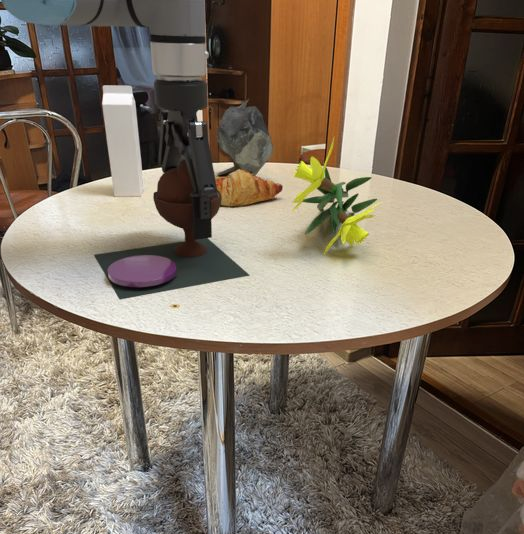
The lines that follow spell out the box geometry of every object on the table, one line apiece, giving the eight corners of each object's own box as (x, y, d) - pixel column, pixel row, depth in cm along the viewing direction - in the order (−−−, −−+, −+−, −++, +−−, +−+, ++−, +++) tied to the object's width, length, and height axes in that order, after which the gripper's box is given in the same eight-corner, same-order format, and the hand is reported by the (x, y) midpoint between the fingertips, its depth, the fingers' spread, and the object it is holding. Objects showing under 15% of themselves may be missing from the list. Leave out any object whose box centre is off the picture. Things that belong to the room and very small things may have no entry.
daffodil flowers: (391, 220, 107) (401, 228, 74) (327, 252, 111) (310, 273, 78) (356, 144, 104) (351, 118, 71) (293, 180, 108) (260, 171, 75)
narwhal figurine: (213, 188, 122) (210, 105, 112) (217, 173, 135) (215, 97, 125) (273, 189, 122) (275, 107, 112) (271, 174, 135) (273, 98, 125)
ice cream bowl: (218, 238, 91) (216, 150, 83) (225, 262, 82) (224, 165, 74) (158, 240, 90) (150, 151, 82) (158, 265, 81) (149, 167, 73)
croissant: (192, 223, 110) (192, 195, 104) (183, 190, 115) (183, 161, 108) (285, 214, 115) (291, 187, 109) (273, 183, 120) (278, 155, 113)
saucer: (102, 270, 79) (101, 260, 78) (165, 260, 83) (164, 251, 82) (117, 296, 71) (116, 286, 70) (186, 284, 75) (185, 274, 74)
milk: (141, 197, 115) (130, 87, 103) (113, 196, 114) (99, 86, 102) (144, 189, 120) (133, 84, 108) (117, 189, 119) (104, 83, 108)
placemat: (94, 257, 84) (93, 254, 84) (207, 240, 92) (207, 237, 92) (120, 303, 71) (119, 299, 70) (250, 278, 78) (250, 275, 78)
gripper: (241, 86, 64) (240, 246, 76) (177, 70, 83) (184, 201, 94) (184, 87, 61) (192, 254, 73) (131, 71, 80) (144, 205, 91)
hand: (187, 224), depth 84 cm, fingers open, 13 cm apart
